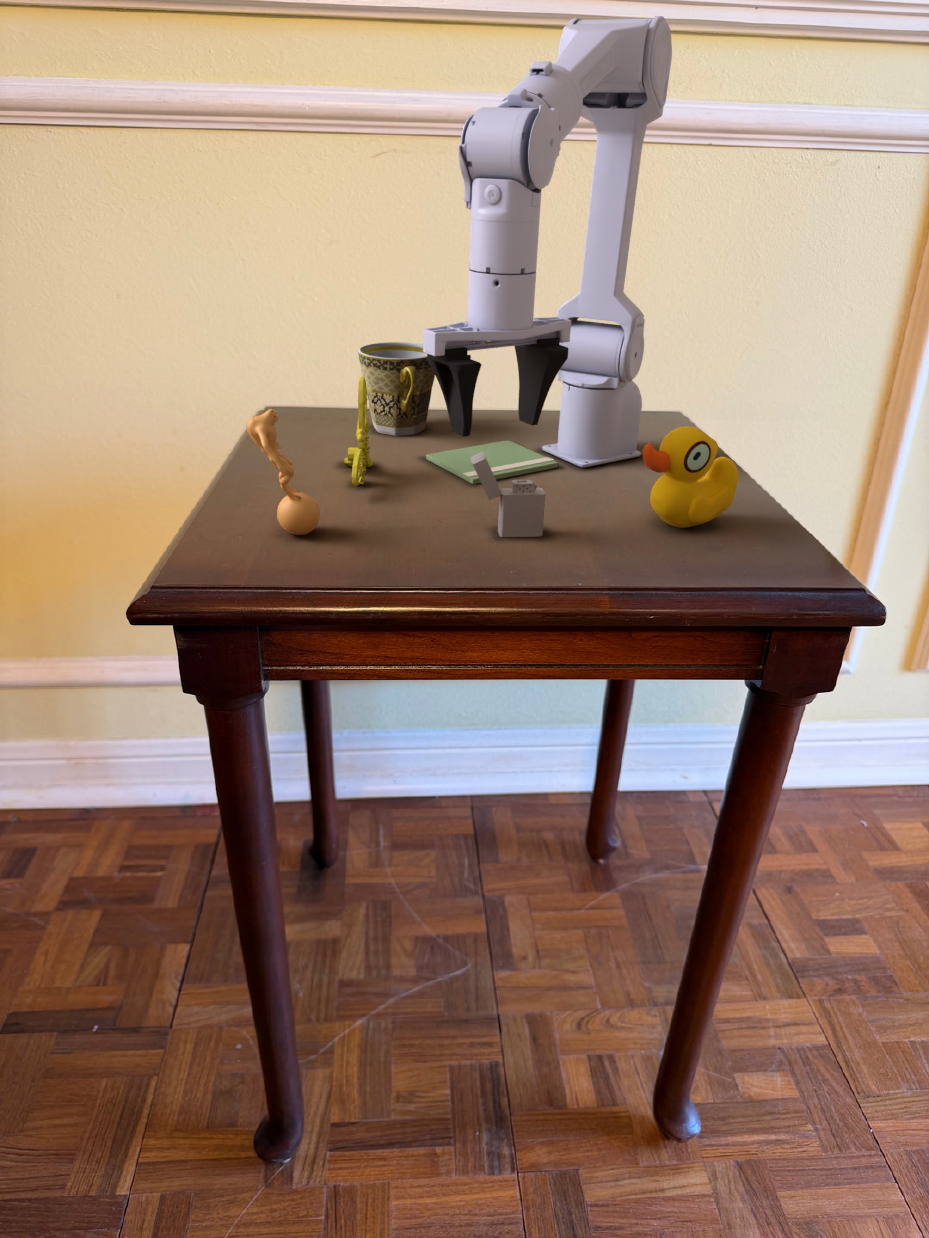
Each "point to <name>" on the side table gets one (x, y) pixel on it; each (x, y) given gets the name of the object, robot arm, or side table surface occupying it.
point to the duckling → (690, 478)
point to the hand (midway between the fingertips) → (495, 428)
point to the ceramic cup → (397, 386)
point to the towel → (492, 460)
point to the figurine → (284, 478)
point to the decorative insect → (360, 440)
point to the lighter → (513, 502)
